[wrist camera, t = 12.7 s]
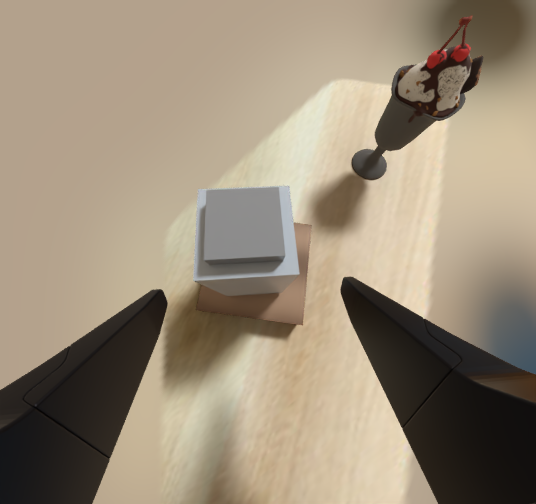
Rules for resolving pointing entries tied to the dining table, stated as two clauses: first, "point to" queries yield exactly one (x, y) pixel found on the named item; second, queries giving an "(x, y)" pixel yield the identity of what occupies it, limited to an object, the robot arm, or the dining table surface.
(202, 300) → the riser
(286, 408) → the dining table surface
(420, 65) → the sundae
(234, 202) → the grey rectangular block
